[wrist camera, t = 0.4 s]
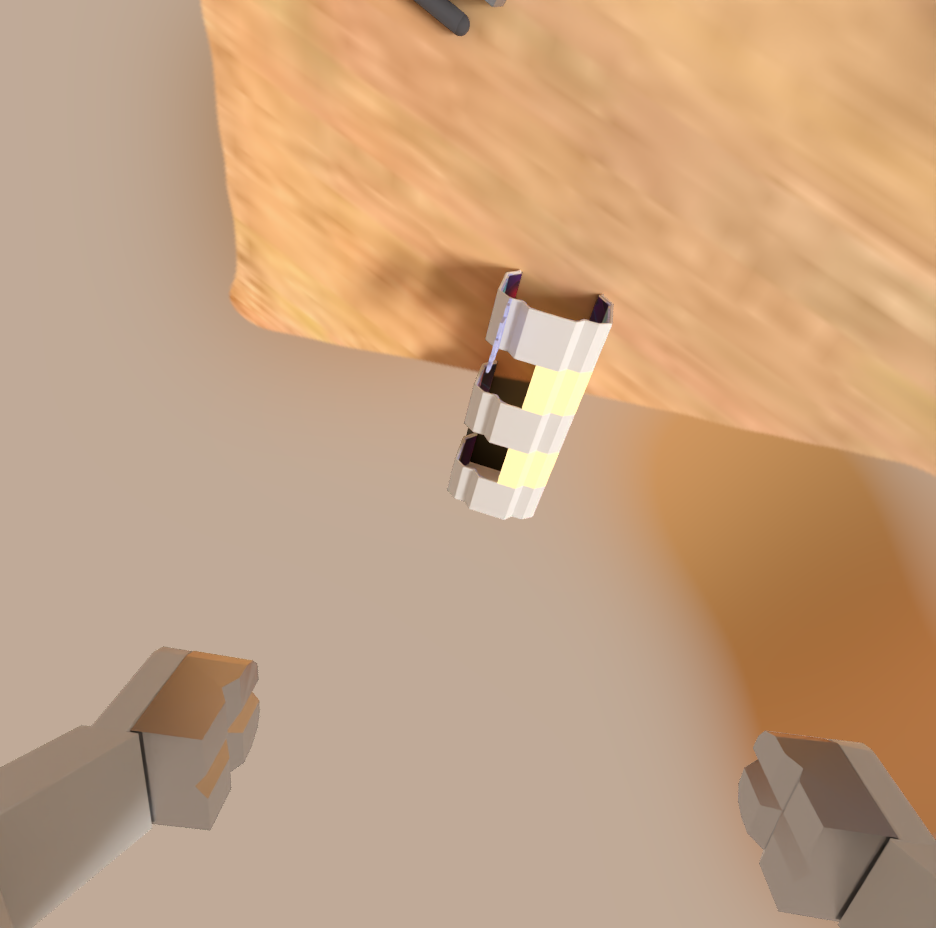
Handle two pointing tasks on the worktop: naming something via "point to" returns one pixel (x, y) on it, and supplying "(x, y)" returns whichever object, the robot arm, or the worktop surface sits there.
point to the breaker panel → (496, 2)
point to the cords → (447, 15)
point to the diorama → (524, 403)
